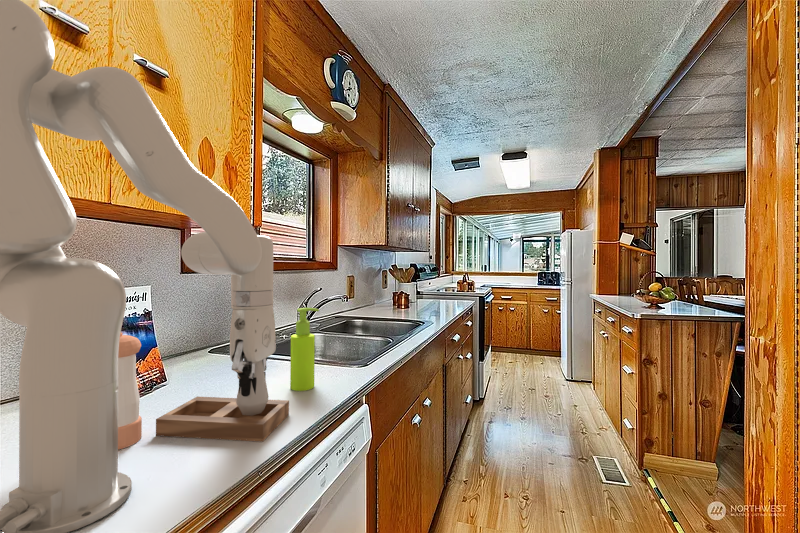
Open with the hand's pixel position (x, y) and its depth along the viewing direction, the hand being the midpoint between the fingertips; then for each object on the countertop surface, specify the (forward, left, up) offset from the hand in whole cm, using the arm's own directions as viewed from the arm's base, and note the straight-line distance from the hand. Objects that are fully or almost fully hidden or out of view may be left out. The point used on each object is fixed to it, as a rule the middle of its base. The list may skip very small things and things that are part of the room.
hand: (252, 394), depth 74 cm
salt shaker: (0, 0, -3) cm, 3 cm away
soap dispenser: (+24, -2, -6) cm, 25 cm away
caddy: (0, +5, -6) cm, 8 cm away
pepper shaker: (-9, +20, -6) cm, 23 cm away
